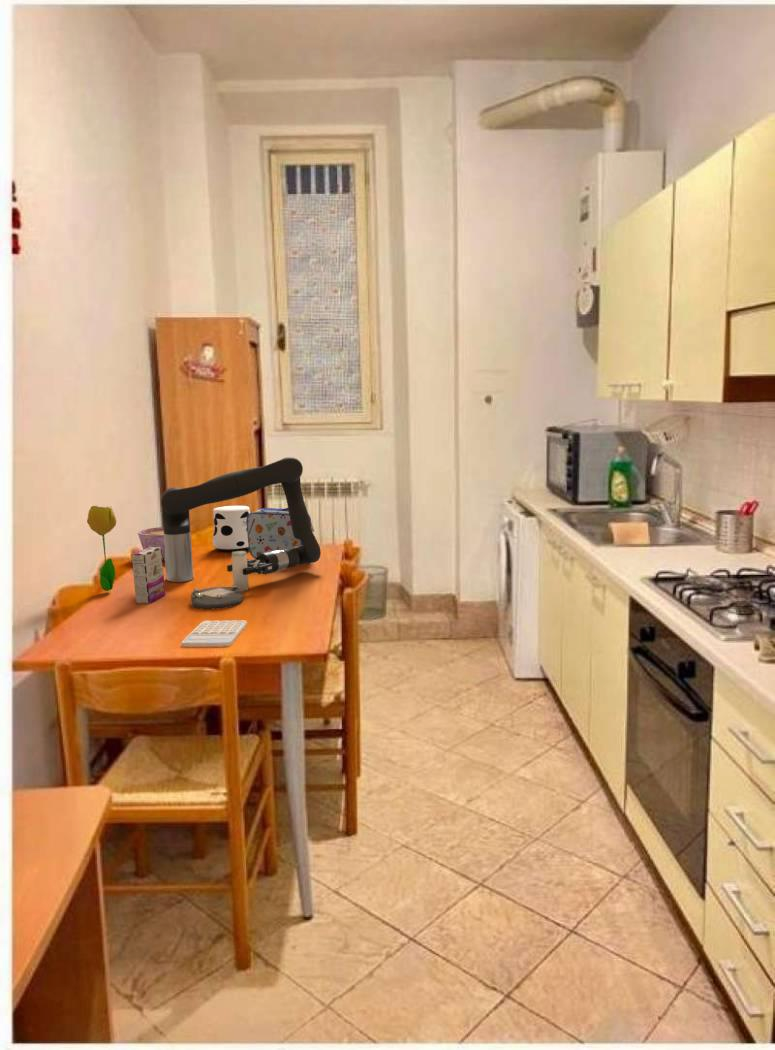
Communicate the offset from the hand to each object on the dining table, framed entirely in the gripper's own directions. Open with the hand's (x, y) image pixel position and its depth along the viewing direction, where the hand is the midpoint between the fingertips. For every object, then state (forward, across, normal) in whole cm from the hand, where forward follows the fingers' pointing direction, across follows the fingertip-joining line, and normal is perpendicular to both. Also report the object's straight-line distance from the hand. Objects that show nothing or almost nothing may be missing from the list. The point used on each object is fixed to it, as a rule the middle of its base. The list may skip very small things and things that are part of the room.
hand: (235, 570), depth 257 cm
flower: (+28, -34, +7) cm, 45 cm away
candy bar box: (+24, -14, +7) cm, 29 cm away
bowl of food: (-16, -68, +7) cm, 70 cm away
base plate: (+13, +7, +7) cm, 16 cm away
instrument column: (-2, 0, +7) cm, 7 cm away
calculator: (+34, +35, +8) cm, 49 cm away
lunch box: (-41, -24, +7) cm, 48 cm away
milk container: (-44, -59, +7) cm, 74 cm away
